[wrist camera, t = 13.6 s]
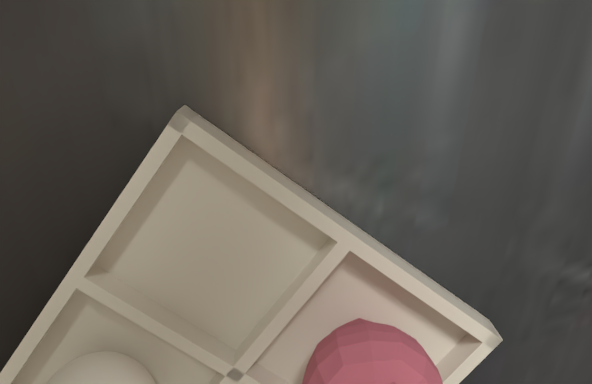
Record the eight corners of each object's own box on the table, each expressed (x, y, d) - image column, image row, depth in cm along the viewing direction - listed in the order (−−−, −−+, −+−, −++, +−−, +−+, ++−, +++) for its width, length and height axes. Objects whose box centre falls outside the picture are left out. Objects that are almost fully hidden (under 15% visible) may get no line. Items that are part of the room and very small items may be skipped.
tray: (-5, 385, 39) (-24, 408, 37) (184, 104, 32) (176, 111, 30) (277, 533, 45) (276, 562, 42) (489, 320, 38) (503, 340, 36)
